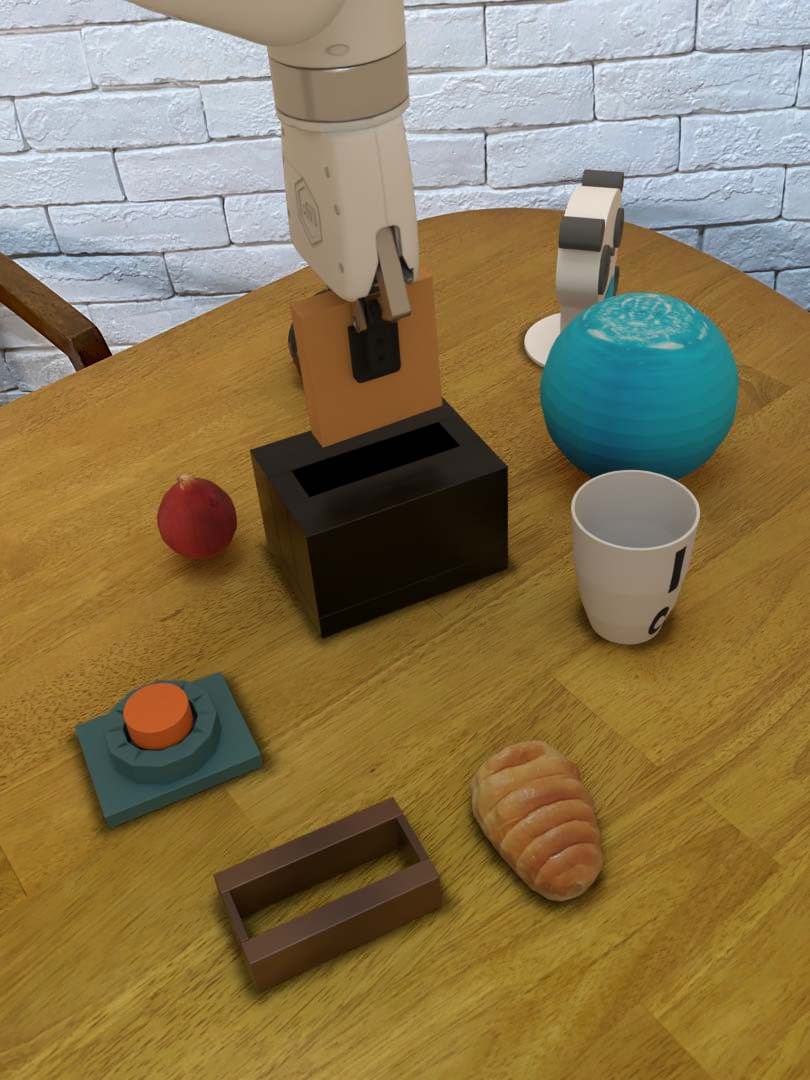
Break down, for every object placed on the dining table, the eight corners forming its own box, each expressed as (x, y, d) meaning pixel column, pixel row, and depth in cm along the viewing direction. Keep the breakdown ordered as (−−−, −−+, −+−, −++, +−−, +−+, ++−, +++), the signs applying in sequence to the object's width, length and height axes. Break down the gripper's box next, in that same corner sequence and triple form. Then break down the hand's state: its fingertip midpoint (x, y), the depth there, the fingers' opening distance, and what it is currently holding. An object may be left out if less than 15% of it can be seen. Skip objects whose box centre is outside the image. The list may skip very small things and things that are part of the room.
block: (109, 829, 68) (97, 799, 66) (78, 737, 74) (67, 707, 72) (263, 766, 71) (257, 735, 69) (223, 682, 77) (216, 652, 75)
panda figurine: (634, 387, 101) (647, 230, 91) (510, 372, 104) (510, 218, 94) (654, 320, 109) (669, 169, 99) (539, 307, 112) (542, 161, 102)
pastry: (632, 884, 63) (636, 844, 61) (522, 924, 62) (522, 886, 59) (559, 759, 70) (560, 719, 68) (458, 794, 69) (456, 754, 66)
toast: (322, 448, 75) (300, 317, 69) (311, 433, 77) (289, 303, 70) (442, 405, 78) (432, 275, 71) (429, 391, 79) (418, 262, 72)
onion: (218, 522, 90) (200, 440, 85) (258, 557, 86) (242, 474, 81) (154, 555, 87) (131, 473, 82) (193, 593, 84) (172, 510, 78)
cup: (674, 671, 75) (689, 559, 69) (554, 647, 77) (558, 537, 71) (692, 590, 81) (708, 480, 74) (580, 570, 83) (586, 461, 76)
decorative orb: (511, 503, 89) (511, 338, 80) (572, 402, 99) (579, 244, 90) (700, 548, 84) (725, 377, 74) (744, 437, 94) (772, 273, 84)
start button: (139, 760, 69) (132, 741, 68) (122, 715, 72) (116, 697, 70) (201, 735, 70) (196, 716, 69) (182, 692, 73) (177, 674, 72)
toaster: (322, 639, 79) (306, 537, 73) (267, 548, 87) (249, 449, 81) (508, 568, 84) (508, 466, 77) (441, 488, 91) (436, 389, 85)
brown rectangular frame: (257, 993, 60) (249, 965, 58) (221, 903, 64) (212, 874, 62) (442, 906, 63) (440, 876, 61) (396, 826, 67) (393, 795, 65)
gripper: (229, 55, 67) (273, 328, 79) (333, 143, 55) (366, 445, 68) (345, 29, 69) (371, 299, 81) (468, 110, 58) (476, 408, 70)
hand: (368, 363), depth 74 cm, fingers closed on toast, 2 cm apart
